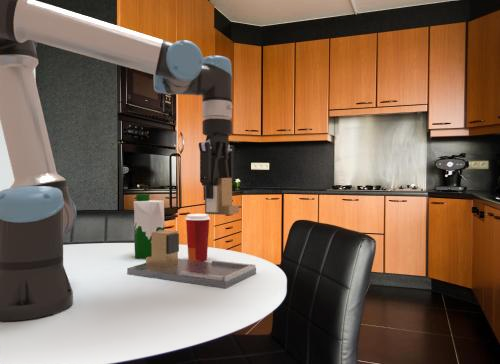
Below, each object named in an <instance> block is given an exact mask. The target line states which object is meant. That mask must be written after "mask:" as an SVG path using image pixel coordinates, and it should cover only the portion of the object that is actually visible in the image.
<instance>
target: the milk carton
mask: <svg viewBox="0 0 500 364" xmlns="http://www.w3.org/2000/svg"><path fill="white" fill-rule="evenodd" d="M135 198H136V200H134V201H133V211H134V214H133V215H134V216H133V217H134V219H133V221H134V222H133V223H134V225H133V226H134V228H133V229H134V230H133V231H134V235H133V236H134V240H133V241H134V259H138V260H139V259H142V260H143V259H145V260H146V257H149V256H152V232H156V231H162V230H165V200H163V199H162V200H157V199H150V194H149V193H145V194H143V193H140V194H138V193H137V194H136V197H135Z"/></svg>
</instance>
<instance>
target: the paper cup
mask: <svg viewBox="0 0 500 364" xmlns="http://www.w3.org/2000/svg"><path fill="white" fill-rule="evenodd" d="M184 220H185V221H186V222H185V224H186V238H187V239H186V243H187V256H188V257H187V258H188V260H194V261H203V262H207V260H208V248H209V234H210V232H209V231H210V220H211V217H210V214H205V213H191V214H189V213H188V214H187V215H186V216H185V218H184Z"/></svg>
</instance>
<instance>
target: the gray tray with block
mask: <svg viewBox="0 0 500 364" xmlns="http://www.w3.org/2000/svg"><path fill="white" fill-rule="evenodd" d="M178 252H180V234H179V232H178V231H177V230H165V229H164V230H162V231H156V232H152V256H149V257H146V259H145V263H141V264H137V265H133V266H130V267H127V268H126V270H127V273H126V274H127V275H133V276H134V275H135V276H140V277H145V278H146V277H147V278H153V279H159V280H166V281H167V280H168V281H174V282H181V283H186V284H187V283H188V284H194V285H202V286H208V287H214V288H215V287H216V288H221V289H227V288H229V287H231V286H233V285H235V284H238V283H240V282H242V281H243V280H246V279H248V278H250V277H252V276H254V275H255V274H257V266H256V264H252V263H251V264H250V263H243V262H234V261H233V262H231V261H225V260H224V261H223V260H216V259H215V260H211V262H210V261H194V260H189V259H184V258H179V255H178V254H179V253H178Z"/></svg>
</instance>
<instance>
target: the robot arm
mask: <svg viewBox="0 0 500 364" xmlns="http://www.w3.org/2000/svg"><path fill="white" fill-rule="evenodd" d="M37 43H39V44H43V45H47V46H50V47H54V48H58V49H60V50H64V51H69V52H72V53H76V54H79V55H83V56H85V57H88V58H89V57H90V58H94V59H97V60H100V61H105V62H108V63H111V64H115V65H117V66H121V67H124V68H125V67H126V68H129V69H132V70H133V69H134V70H136V71H140V72H143V73H147V74H151V75H153V90H154V91H155V93H157V94H165V95H168V96H169V95H185V96H186V95H187V96H188V95H189V96H201V97H202V109H201V110H202V111H201V112H202V113H201V114H202V115H201V117H202V118H203V121H202V135H204V136H206V138H205V141H203V142H199V143H198V149H199V182H200V183H201V186H202V187H203V186H206V212H217V186H214V185H215V180H216V178H217V170H218V175H219V176H218V178H232V185H233V184H234V177H235V175H234V153H235V146H234V145H230V142H229V136H231V135H232V134H233V121H232V120H231V119H232V118H233V103H232V102H233V72H232V71H233V69H232V61H231V60H230V59H229V58H228V57H227V56H222V55H209V56H205V57H203V53H202V51H201V49H200V47H199V46H198V45H196V44H195V43H194V42H193V41H190V40H186V39H183V40H182V39H181V40H177V41H175V42H172V41H169V40H165V39H162V38H158V37H155V36H151V35H147V34H145V33H143V32H138V31H135V30H132V29H129V28H125V27H123V26H119V25H116V24H113V23H111V22H106V21H103V20H101V19H100V20H99V19H97V18H93V17H91V16H87V15H83V14H82V13H81V14H80V13H77V12H74V11H71V10H68V9H64V8H62V7H59V6H55V5H53V4H49V3H46V2H42V1H38V0H0V125H1V128H2V133H3V134H2V135H3V136H4V142H5V145H6V151H7V154H8V158H9V163H10V166H11V170H12V174H13V179H14V180H13V182H12V184H11V186H10V187H9V188H6V189H2V190H0V321H2V322H6V321H7V322H12V321H14V322H15V321H25V320H33V319H39V318H42V317H47V316H51V315H55V314H56V313H60V312H62V311H65V310H67V309H68V308H70V307H71V306H72V305H73V303H74V291H73V288H72V286H71V283H70V280H69V278H68V275H67V272H66V268H65V266H64V238H65V236H67V235H68V234H69V233H70V232H71V230H72V229H73V227H74V226H75V222H76V221H77V207H76V205H75V203H74V201H73V200H72V198H71V197H70V192H69V187H68V183H67V180H66V178H64V177H63V176H62V175H59V174H58V172H57V169H56V162H55V160H54V156H53V151H52V146H51V142H50V137H49V134H48V128H47V125H46V120H45V117H44V111H43V107H42V104H41V99H40V95H39V92H38V91H39V90H38V87H37V82H36V78H35V73H34V70H35V68H37V66H38V65H39V59H38V54H37V50H36V49H37V45H38V44H37Z"/></svg>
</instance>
